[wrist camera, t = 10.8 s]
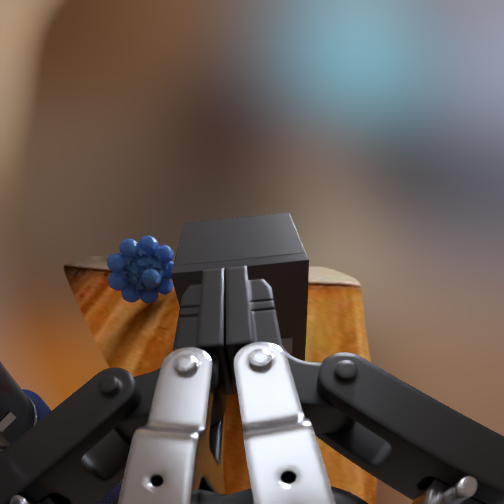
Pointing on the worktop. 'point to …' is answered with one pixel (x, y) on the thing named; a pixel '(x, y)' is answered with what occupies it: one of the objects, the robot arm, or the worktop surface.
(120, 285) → the grapes
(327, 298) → the worktop surface
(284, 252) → the push button control box
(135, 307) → the worktop surface
